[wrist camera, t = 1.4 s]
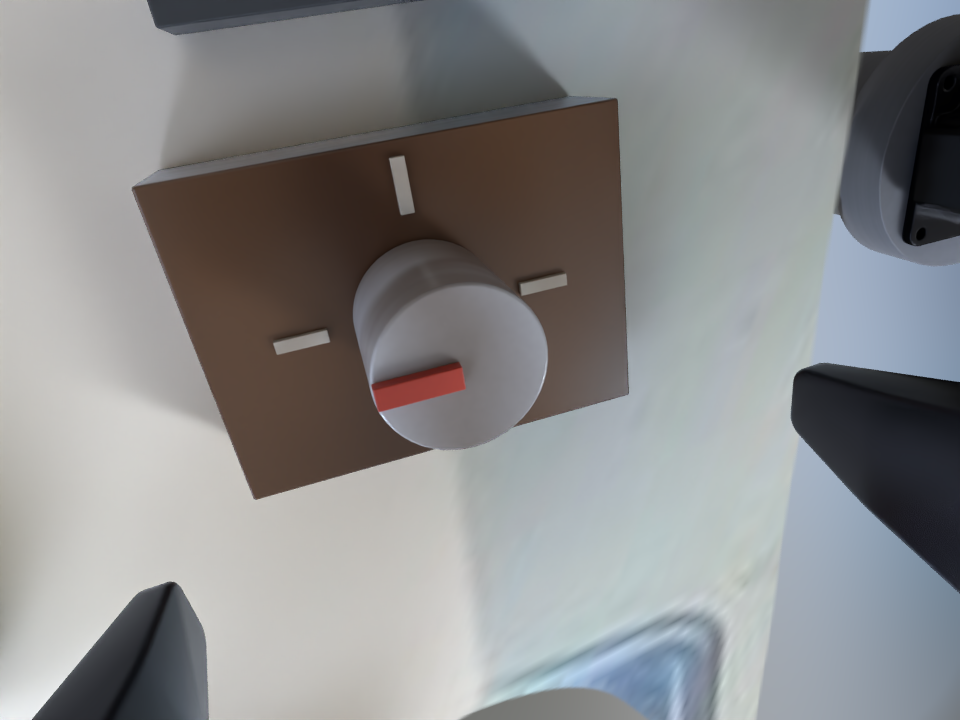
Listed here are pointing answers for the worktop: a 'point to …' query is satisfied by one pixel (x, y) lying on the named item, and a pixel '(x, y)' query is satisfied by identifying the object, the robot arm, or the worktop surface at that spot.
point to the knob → (447, 346)
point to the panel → (365, 238)
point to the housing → (245, 12)
